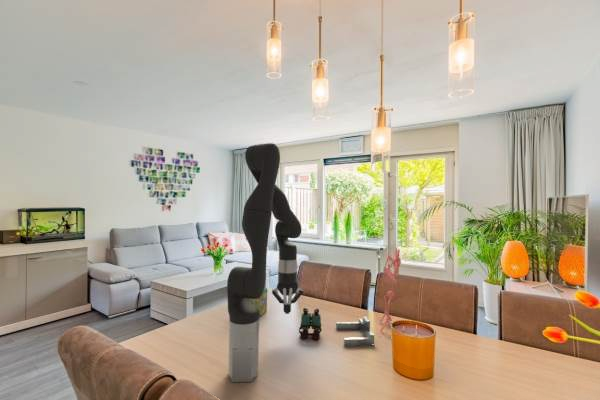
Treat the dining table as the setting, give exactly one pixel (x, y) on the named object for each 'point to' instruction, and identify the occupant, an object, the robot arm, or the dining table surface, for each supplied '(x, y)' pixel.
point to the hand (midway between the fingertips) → (287, 313)
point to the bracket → (363, 326)
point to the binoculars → (310, 324)
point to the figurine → (387, 272)
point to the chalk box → (260, 302)
